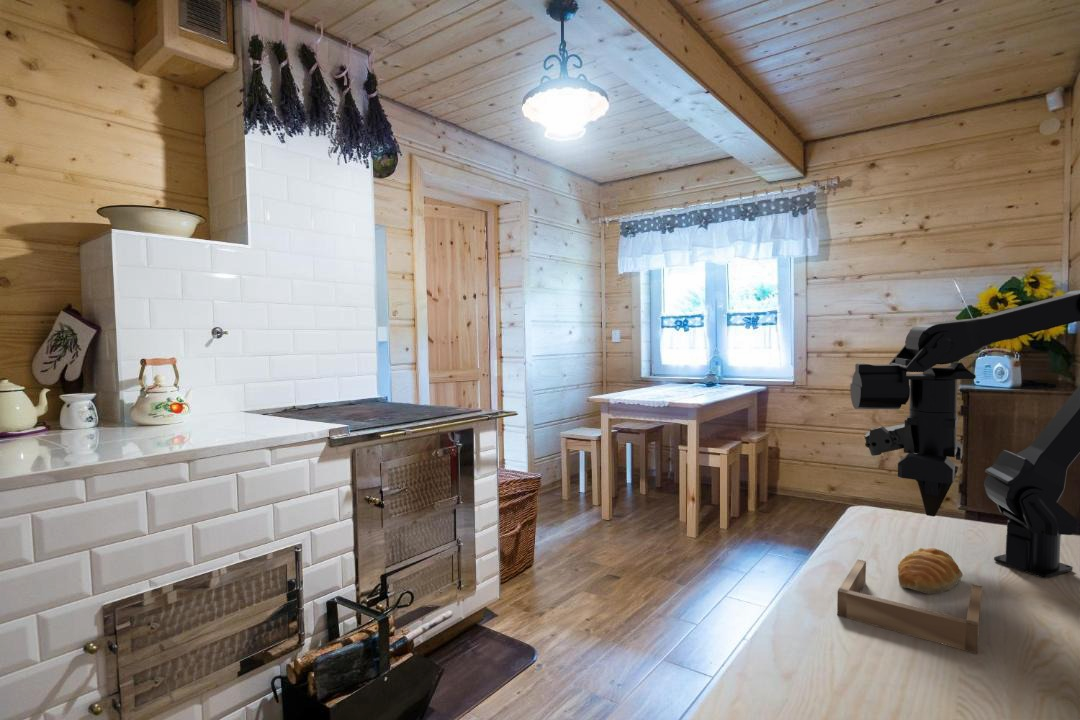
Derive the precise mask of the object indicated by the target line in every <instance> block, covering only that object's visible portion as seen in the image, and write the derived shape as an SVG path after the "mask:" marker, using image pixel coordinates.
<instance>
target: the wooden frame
mask: <svg viewBox="0 0 1080 720" xmlns="http://www.w3.org/2000/svg"><path fill="white" fill-rule="evenodd" d="M866 571H867V561H866V560H863V559H856V561H855V563H854V564H853V566H852V568H851V569H850V570H849V572H848V574H847V575H846V577H845V578H844V580H843V582H842V583H841V585H840V586H839V588H838V590H837V599H836V602H837V603H836V604H837V608H836V609H837V612H836V613H837V616H840V617H843V618H847V619H850V620H853V621H859V622H861V623H865V624H868V625H873V626H876V627H879V628H882V627H883V629H886V628H887V630H890V631H893V630H894V632H897V631H898V633H901V634H904V635H908V636H912V637H915V638H919V639H923V640H926V641H929V640H930V642H933V641H934V643H937V642H938V643H937V644H940V643H943V644H942V645H944V644H946V645H945V646H947V645H949V646H948V647H951V646H952V648H955V649H959V650H962V651H966V652H969V653H973V654H978V645H979V636H980V627H981V620H982V611H983V609H982V608H983V607H982V606H983V586H982V585H979V584H978V585H977V584H974V583H973V584H971V590H970V596H969V602H968V607H967V615H966V618H961V617H958V616H955V615H954V616H953V615H951V614H945V613H941V612H938V611H933V610H929V609H926V608H922V607H917V606H914V605H909V604H906V603H903V602H902V603H901V602H898V601H894V600H890V599H885V598H881V597H878V596H874V595H869V594H865V593H862V590H863V588H864V586H865V585H866V580H867V578H866V577H867V573H866Z"/></svg>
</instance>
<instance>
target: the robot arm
mask: <svg viewBox="0 0 1080 720" xmlns="http://www.w3.org/2000/svg"><path fill="white" fill-rule="evenodd" d="M1078 322H1079V323H1080V289H1075V290H1069V291H1067V292H1066V293H1064V294H1062V295H1057V296H1054V297H1050V298H1046V299H1043V300H1039V301H1034V302H1031V303H1028V304H1023V305H1021V306H1016V307H1013V308H1008V309H1005V310H1001V311H997V312H993V313H989V314H985V315H982V316H979V317H974V318H966V319H965V318H964V319H956V320H955V319H954V320H943V321H935V322H934V321H932V322H924V323H919V324H918V325H915V326H913V327H912V328H910V329H909V331H908V333H907V335H906V337H905V341H904V344H905V345H903V346H902V348H901V349H900V350H899V352H897V354H896V355H895V356H894V357H893V359H892V360H891V361H890V362H889V363H888V364H870V363H865V362H863V363H860V362H859V363H856V364H855V368H854V369H855V370H854V373H853V375H852V381H851V382H850V386H849V387H850V391H849V392H850V398H851V399H850V400H851V404H852V407H853V408H854V409H855V410H900V409H901V408H902V406H903V405H907V403H908V402H909V403H908V405H909V406H908V407H909V408H908V409H909V411H908V415H907V417H906V418H905V419H904V423H902V424H897V425H891V426H888V427H884V426H883V425H880V426H879V427H877V428H874V427H872V428H871V429H870V430H869V431H868V432H867V433H866V434H865V435H863V437H864V440H865V443H864V445H865V446H864V447H865V448H868V451H869V453H870V455H871V457H872V456H873V457H874V456H876V457H877V456H880V455H881V454H883V453H887V452H893V451H898V450H901V449H903V454H906V455H905V456H903V457H901V459H900V460H899V461H898V463H897V477H898V478H900V479H906V480H907V479H908V480H915V481H916V483H917V486H918V488H919V492H920V496H921V501H922V503H923V507H924V512H925V515H926V516H928V517H936V516H937V513H938V512H939V510H940V508H941V506H942V503H943V502H944V499H945V498H946V496H947V494H948V493H949V490H950V488H951V486H952V484H953V483H954V481H955V479H956V476H957V473H958V470H959V466H957V465H956V464H955V463H954V462H953V461H952V459H950V458H955V459H956V461H961V460H962V458H963V444H962V443H960V441H958V440H957V426H958V423H959V416H958V380H976V378H977V376H976V374H975V373H973V372H972V371H970V370H969V369H968V368H967V367H966V366H965V365H964V363H963V362H959V360H961V359H964V358H966V357H968V356H971V355H973V354H975V353H977V352H978V351H980V350H982V349H983V348H985V347H987V346H989V345H992V344H995V343H997V342H1003V341H1007V340H1010V339H1015V338H1018V337H1022V336H1027V335H1029V334H1034V333H1038V332H1041V331H1046V330H1049V329H1054V328H1057V327H1061V326H1064V325H1069V324H1073V323H1078ZM949 364H950V365H949ZM937 365H941V366H942V365H949V366H946V367H944V366H942V367H941V366H938V367H937ZM1079 455H1080V385H1078V386H1077V388H1076V389H1075V390H1074V392H1073V393H1072V394H1071V395H1070V396H1069V398H1068V399H1067V400H1066V401H1065V403H1064V404H1062V406H1061V407H1060V408H1059V410H1057V412H1056V413H1055V415H1054V416H1053V417H1052V418H1051V419H1050V421H1049V422H1048V423H1047V424H1046V426H1045V427H1044V428H1043V429H1042V430H1041V431H1040V433H1039V434H1038V435H1037V437H1036V438H1035V439H1034V440H1033V441H1032V442H1031V444H1030V445H1029V446H1028V447H1027V448H1025V449H1023V450H1021V451H1019V452H1017V453H1014V452H1011V451H1008V450H1006V449H1003V450H1001V452H1000V453H999V455H998V457H997V459H996V460H995V461H994V463H993V464H992V465H991V466H989V467H987V468H986V469H984V472H985V473H987V476H986V477H985V479H984V481H983V482H984V483H983V485H984V490H985V493H986V495H987V497H988V498H989V499H990V500H991V501H993V502H994V503H995V504H996V506H997V508H998V511H999V512H1000V513H1001V514H1003V515H1005V516H1007V517H1008V518H1007V523H1006V535H1005V553H1004V554H1001V555H997V556H994V558H993V561H995V562H996V563H1001V564H1003V565H1005V566H1009V567H1012V568H1013V569H1018V570H1020V571H1023V572H1026V573H1029V574H1031V575H1034V576H1038V577H1040V578H1045V579H1047V578H1051V577H1054V576H1057V575H1061V574H1064V573H1069V572H1072V571H1073V568H1074V567H1073V566H1071V565H1068V564H1066V563H1063V562H1061V539H1062V538H1061V536H1062V535H1064V536H1066V535H1067V536H1072V535H1073V533H1074V531H1075V529H1076V527H1077V525H1078V523H1079V522H1078V519H1077V518H1075V517H1074V516H1073V515H1072V514H1071V513H1069V512H1068V510H1066V509H1065V508H1064V507H1063V506H1062V505H1061V504H1060V503H1059V500H1060V498H1061V497H1062V495H1063V493H1064V491H1065V487H1066V480H1067V472H1068V469H1069V467H1070V466H1071V464H1073V462H1074V461H1075V460H1076V458H1077V457H1078V456H1079ZM949 457H950V458H949Z"/></svg>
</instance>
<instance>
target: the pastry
mask: <svg viewBox="0 0 1080 720" xmlns="http://www.w3.org/2000/svg"><path fill="white" fill-rule="evenodd" d="M897 571H898V575H897V576H898V577H897V578H898V582H899V584H900V585H901V587H902V588H905V589H906V588H907V589H911V590H913V591H917V592H921V593H924V594H929V595H933V594H934V593H935V594H936V593H941V592H949V591H950V589H952V588H953V587H955V586H957V584H958V583H959V581H961V579H962V578H963V576H964V573H963V571H962V570H961V569H960V567H959V565H958V564H957V562H955V560H954V559H953V556H951V554H949V553H947V552H945V551H944V550H941V549H937V548H933V547H932V548H922V547H920V548H918V549H917V550H914V551H912V553H909V554H907V555H906V556H904V558H902V559H901V560H900V562H899V564H898V566H897Z"/></svg>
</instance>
